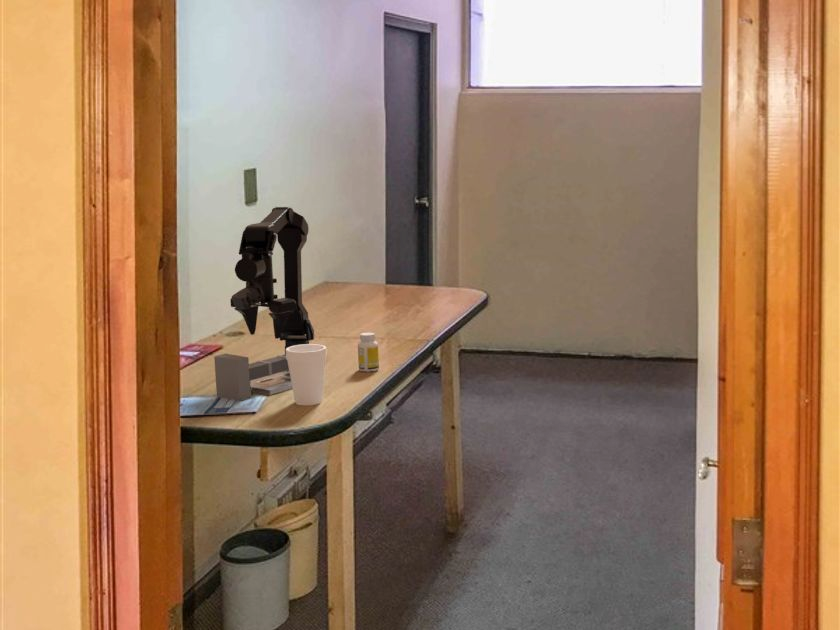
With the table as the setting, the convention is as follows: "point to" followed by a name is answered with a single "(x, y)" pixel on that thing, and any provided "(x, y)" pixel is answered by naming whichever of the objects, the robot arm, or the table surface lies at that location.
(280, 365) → the bar
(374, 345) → the supplement bottle
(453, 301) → the table surface
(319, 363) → the foam cup
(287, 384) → the panel
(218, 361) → the post
